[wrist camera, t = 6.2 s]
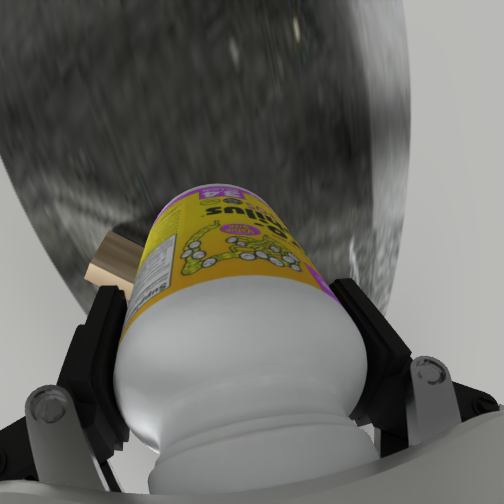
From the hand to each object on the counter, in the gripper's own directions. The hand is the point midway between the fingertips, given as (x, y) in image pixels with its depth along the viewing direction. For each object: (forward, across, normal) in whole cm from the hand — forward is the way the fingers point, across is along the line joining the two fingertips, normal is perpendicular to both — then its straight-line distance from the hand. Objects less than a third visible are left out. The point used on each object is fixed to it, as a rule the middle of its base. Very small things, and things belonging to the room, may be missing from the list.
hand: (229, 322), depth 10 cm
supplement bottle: (+6, 0, 0) cm, 6 cm away
